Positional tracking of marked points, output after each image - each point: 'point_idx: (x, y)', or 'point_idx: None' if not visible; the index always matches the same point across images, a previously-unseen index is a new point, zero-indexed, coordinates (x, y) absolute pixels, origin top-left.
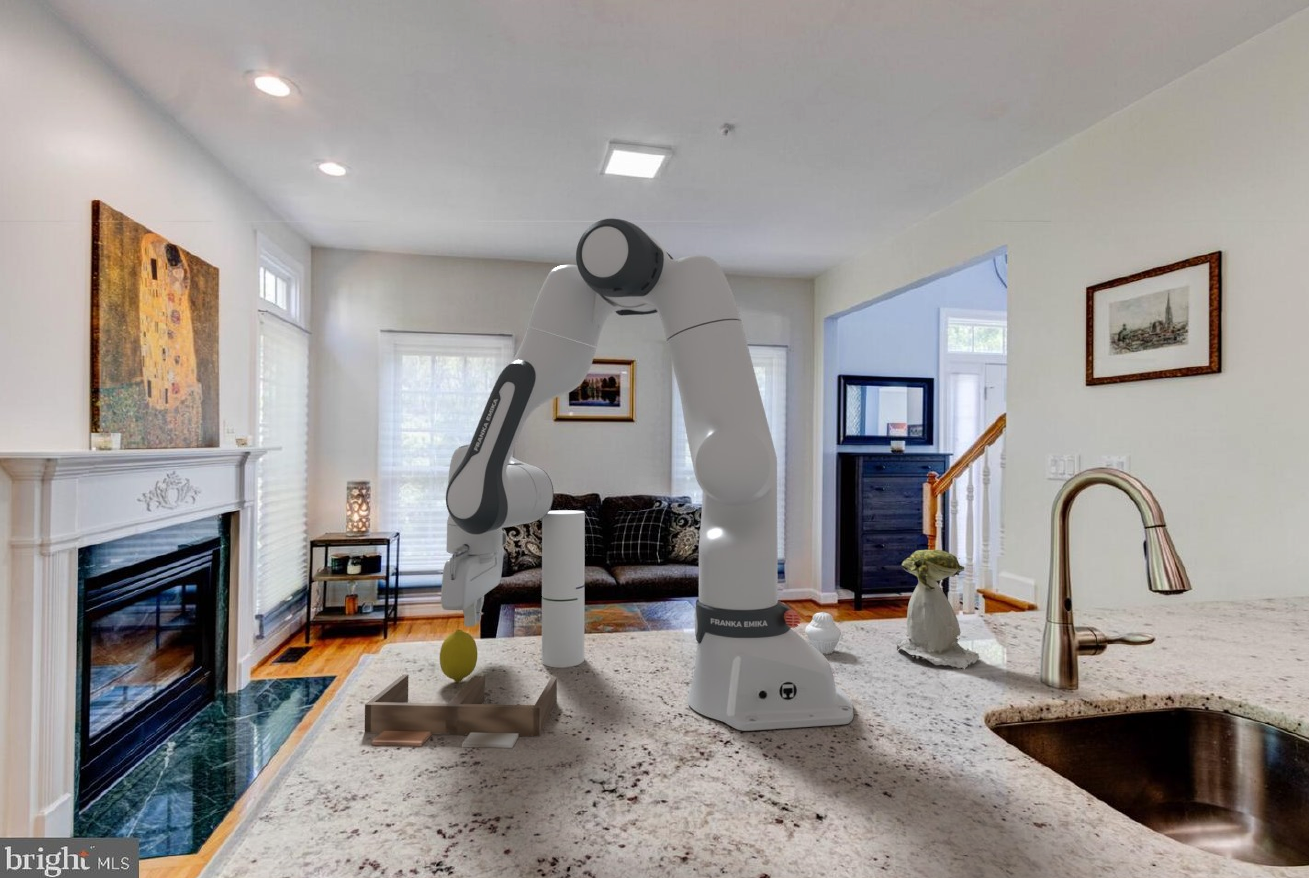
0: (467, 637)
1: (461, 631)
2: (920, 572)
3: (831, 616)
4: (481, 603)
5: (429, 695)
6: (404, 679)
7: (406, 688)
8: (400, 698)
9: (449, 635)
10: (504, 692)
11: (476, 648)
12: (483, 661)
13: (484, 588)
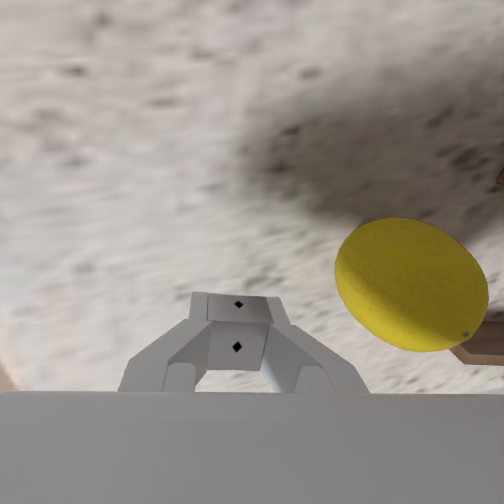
0: (477, 283)
1: (471, 320)
2: None
3: None
4: (179, 352)
5: None
6: (485, 351)
7: None
8: None
9: (444, 349)
10: (473, 106)
11: (428, 233)
12: (193, 214)
13: (270, 456)
